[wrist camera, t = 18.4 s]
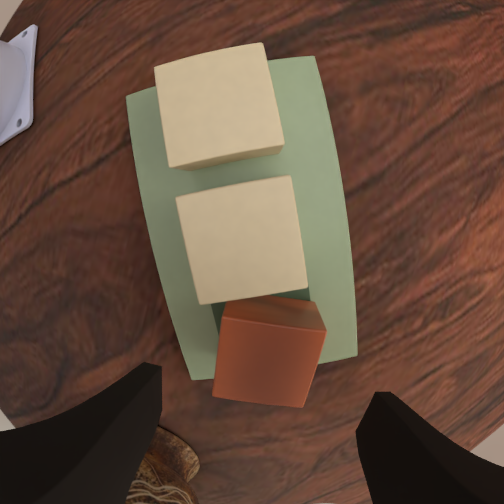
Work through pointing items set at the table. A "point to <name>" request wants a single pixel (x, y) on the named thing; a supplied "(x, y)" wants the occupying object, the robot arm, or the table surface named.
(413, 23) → the table surface
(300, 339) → the reddish orange block
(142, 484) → the vase
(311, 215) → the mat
